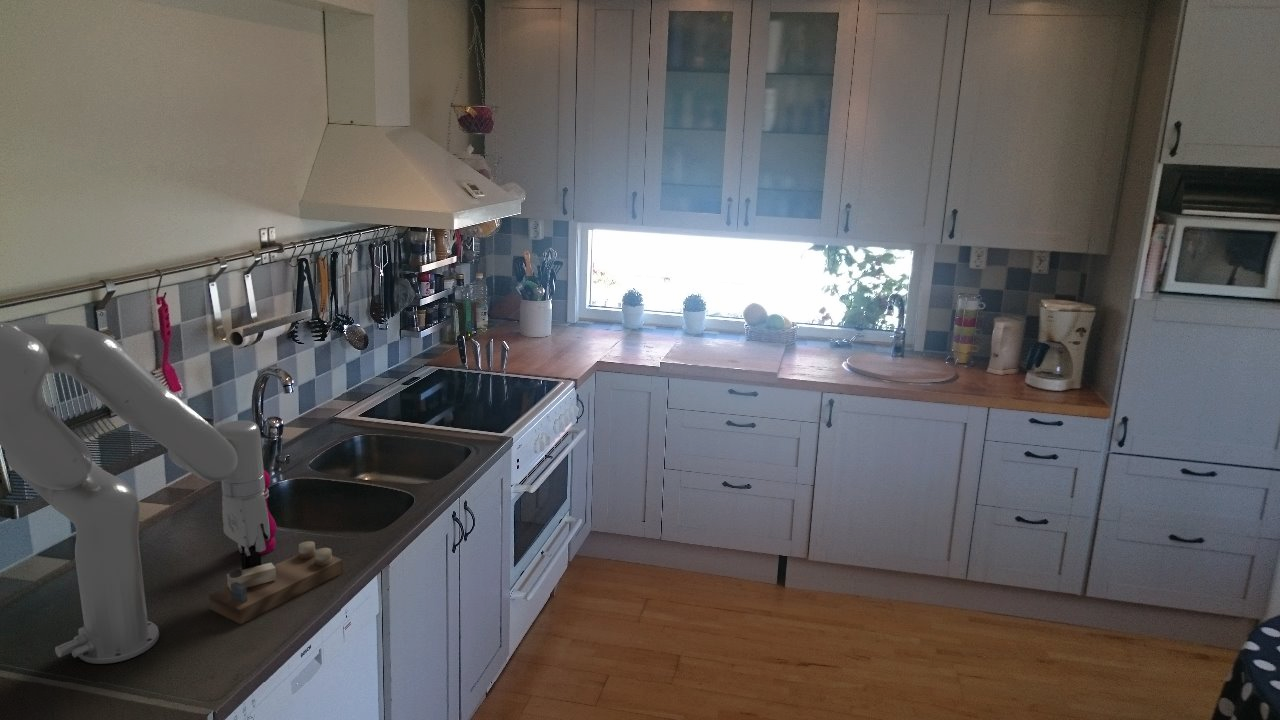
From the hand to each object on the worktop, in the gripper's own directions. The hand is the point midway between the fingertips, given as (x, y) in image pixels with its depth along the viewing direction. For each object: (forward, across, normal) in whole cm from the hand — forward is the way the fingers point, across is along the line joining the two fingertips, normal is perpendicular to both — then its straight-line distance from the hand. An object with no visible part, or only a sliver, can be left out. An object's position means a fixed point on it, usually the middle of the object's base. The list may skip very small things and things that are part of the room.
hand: (252, 570), depth 176 cm
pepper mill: (+5, -16, +10) cm, 19 cm away
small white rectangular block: (+1, +3, -2) cm, 3 cm away
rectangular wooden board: (+4, +4, +4) cm, 7 cm away
